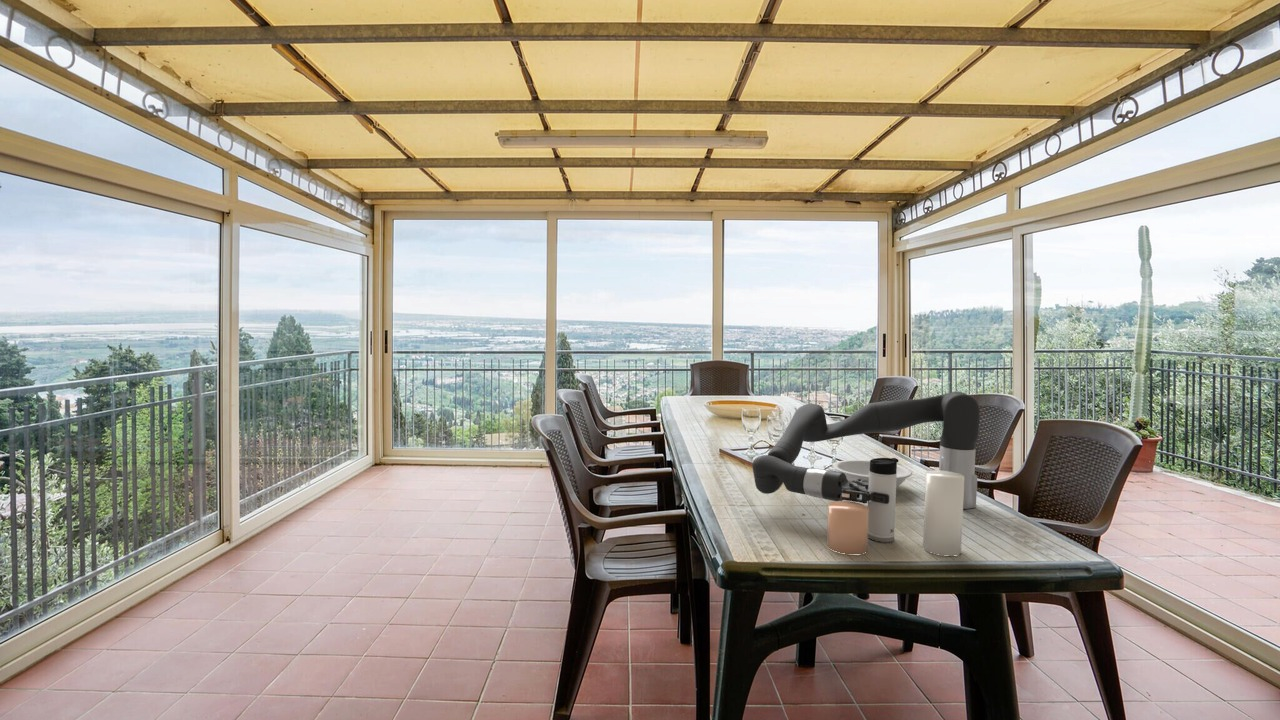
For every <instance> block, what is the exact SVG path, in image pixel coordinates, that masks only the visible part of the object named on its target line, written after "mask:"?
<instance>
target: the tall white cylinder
mask: <svg viewBox="0 0 1280 720" xmlns="http://www.w3.org/2000/svg"><path fill="white" fill-rule="evenodd" d="M924 485H925V487H924V504H923V505H924V506H923V507H924V508H923V509H924V510H923V534H922V549H923V548H924V549H925V550H927V551H929V552H932V553H935V554H939V555H949V556H954V555H959V554H960V553H961V554H962V540H963V538H962V536H963V516H964V515H963V514H964V509H963V498H964V476H963V475H961V474H958V473H954V472H949V471H940V470H939V469H935V470H927V471H926V472H925V484H924ZM924 549H923V550H924ZM925 550H924V551H925ZM927 551H926V552H927ZM929 552H928V553H929ZM932 553H931V554H932ZM935 554H934V555H935ZM939 555H938V556H939ZM959 556H960V555H959Z"/></svg>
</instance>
